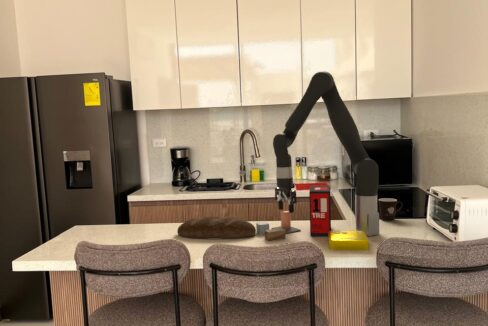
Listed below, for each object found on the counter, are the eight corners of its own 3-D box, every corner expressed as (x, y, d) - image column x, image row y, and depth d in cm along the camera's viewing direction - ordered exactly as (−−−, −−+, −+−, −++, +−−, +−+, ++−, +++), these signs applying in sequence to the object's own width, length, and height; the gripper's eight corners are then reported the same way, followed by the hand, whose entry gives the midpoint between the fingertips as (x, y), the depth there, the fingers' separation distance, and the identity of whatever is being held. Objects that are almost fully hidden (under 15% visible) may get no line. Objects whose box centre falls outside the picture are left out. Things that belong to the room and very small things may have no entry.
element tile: (329, 251, 161) (329, 239, 161) (328, 240, 176) (328, 229, 176) (369, 251, 159) (369, 239, 158) (364, 240, 173) (364, 229, 173)
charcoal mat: (300, 231, 191) (300, 229, 191) (284, 234, 186) (284, 232, 186) (286, 226, 200) (286, 225, 200) (271, 229, 196) (271, 227, 196)
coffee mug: (378, 221, 204) (378, 201, 203) (378, 217, 212) (378, 198, 211) (404, 222, 200) (404, 201, 199) (402, 218, 209) (402, 198, 208)
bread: (183, 230, 200) (182, 213, 200) (258, 231, 194) (257, 213, 194) (172, 239, 185) (171, 221, 184) (253, 240, 179) (252, 221, 178)
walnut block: (285, 239, 179) (285, 229, 179) (268, 241, 176) (268, 232, 176) (281, 236, 183) (280, 227, 183) (264, 239, 180) (264, 230, 180)
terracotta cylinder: (284, 230, 190) (284, 213, 190) (279, 228, 194) (279, 211, 194) (292, 229, 192) (292, 212, 192) (287, 227, 196) (286, 210, 196)
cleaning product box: (311, 227, 197) (311, 185, 195) (330, 227, 195) (330, 185, 194) (310, 236, 181) (309, 191, 179) (331, 237, 179) (330, 191, 178)
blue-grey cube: (269, 233, 189) (269, 223, 189) (260, 234, 187) (259, 225, 187) (265, 231, 193) (265, 221, 193) (256, 232, 192) (256, 222, 191)
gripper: (269, 176, 196) (270, 209, 197) (286, 178, 183) (288, 214, 185) (282, 174, 199) (284, 207, 201) (300, 177, 187) (301, 212, 188)
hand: (286, 211), depth 193 cm, fingers open, 8 cm apart
